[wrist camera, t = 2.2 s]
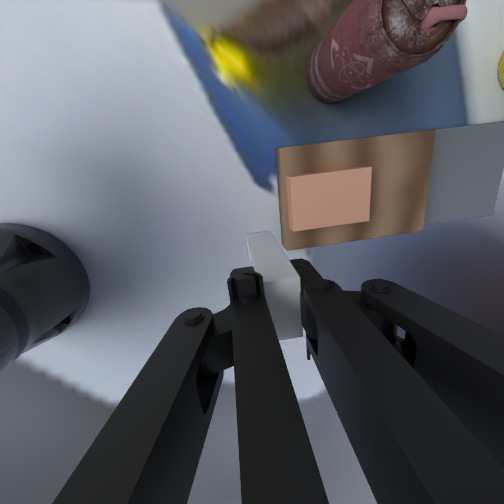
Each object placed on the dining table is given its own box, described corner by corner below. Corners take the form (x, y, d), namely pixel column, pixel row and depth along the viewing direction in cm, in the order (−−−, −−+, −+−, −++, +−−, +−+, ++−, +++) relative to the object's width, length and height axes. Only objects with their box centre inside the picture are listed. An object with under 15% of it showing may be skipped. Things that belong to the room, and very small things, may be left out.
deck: (282, 244, 35) (286, 250, 32) (275, 148, 30) (279, 147, 28) (409, 226, 36) (422, 230, 33) (419, 131, 31) (435, 129, 29)
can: (357, 103, 30) (465, 60, 17) (303, 105, 29) (370, 62, 16) (363, 38, 27) (491, -69, 14) (305, 39, 27) (383, -73, 14)
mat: (409, 226, 36) (411, 226, 35) (419, 131, 31) (422, 130, 31) (489, 214, 36) (492, 215, 36) (510, 120, 32) (513, 119, 32)
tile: (289, 227, 31) (293, 231, 29) (285, 175, 29) (290, 177, 27) (360, 217, 32) (369, 220, 30) (362, 166, 30) (371, 166, 28)
